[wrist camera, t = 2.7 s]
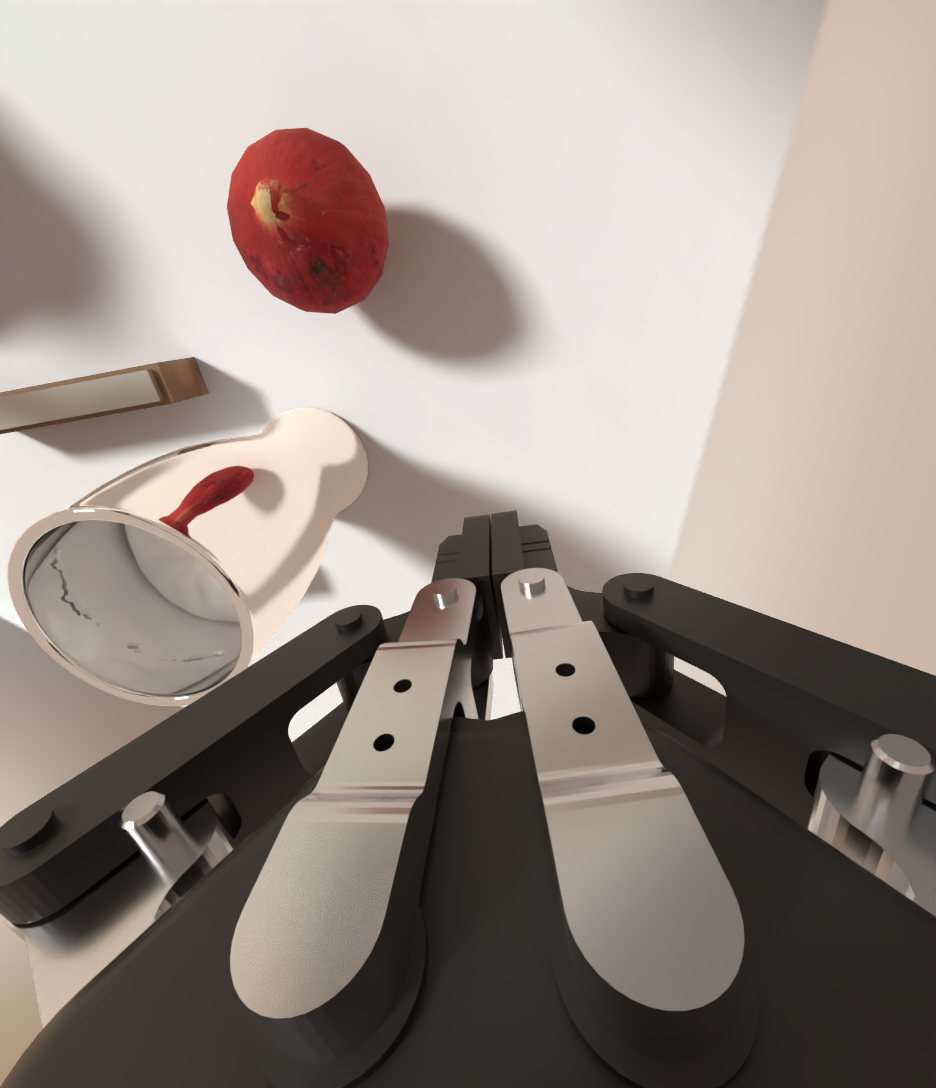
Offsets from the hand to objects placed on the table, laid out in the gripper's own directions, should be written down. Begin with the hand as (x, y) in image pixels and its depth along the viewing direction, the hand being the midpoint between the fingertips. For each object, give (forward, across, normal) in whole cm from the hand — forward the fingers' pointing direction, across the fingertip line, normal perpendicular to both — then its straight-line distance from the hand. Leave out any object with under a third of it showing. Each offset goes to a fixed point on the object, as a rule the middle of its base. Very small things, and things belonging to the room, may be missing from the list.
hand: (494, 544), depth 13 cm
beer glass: (+13, +10, 0) cm, 17 cm away
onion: (+13, +6, -10) cm, 17 cm away
